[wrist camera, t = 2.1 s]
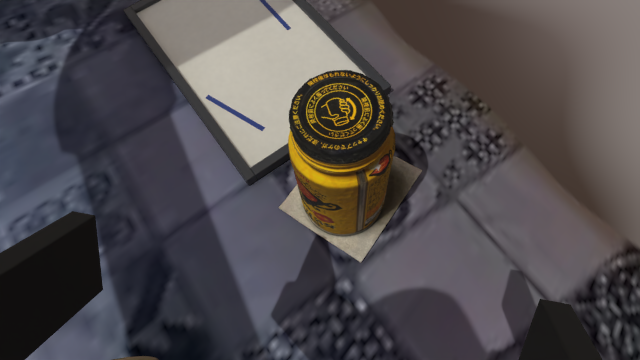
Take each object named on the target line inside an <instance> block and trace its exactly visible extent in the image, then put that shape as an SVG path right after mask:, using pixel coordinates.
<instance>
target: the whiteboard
mask: <svg viewBox="0 0 640 360" xmlns="http://www.w3.org/2000/svg"><path fill="white" fill-rule="evenodd" d="M124 12H125V14H126V15H127V17H128V19H129V20H130V21H131V23H132V24H133V26H134V27H135V28H136V30H137V31H138V32H139V34H140V35H141V37H142V38H143V39H144V41H145V42H146V44H147V45H148V46H149V48H150V49H151V51H152V52H153V53H154V55H155V56H156V57H157V59H158V60H159V62H160V63H161V64H162V66H163V67H164V69H165V70H166V71H167V73H168V74H169V76H170V77H171V78H172V80H173V81H174V83H175V84H176V85H177V87H178V88H179V89H180V91H181V92H182V94H183V95H184V96H185V98H186V99H187V101H188V102H189V103H190V105H191V106H192V108H193V109H194V110H195V112H196V113H197V115H198V116H199V117H200V119H201V120H202V121H203V123H204V124H205V126H206V127H207V128H208V130H209V131H210V133H211V134H212V135H213V137H214V138H215V140H216V141H217V142H218V144H219V145H220V146H221V148H222V149H223V151H224V152H225V153H226V155H227V156H228V158H229V159H230V160H231V162H232V163H233V165H234V166H235V167H236V169H237V170H238V172H239V173H240V174H241V176H242V177H243V178H244V180H245V181H246V183H247V184H248V185H251V184H252V183H254V182H255V181H257V180H258V179H260V178H261V177H263V176H265V175H266V174H268V173H269V172H271V171H272V170H274V169H275V168H277V167H278V166H280V165H281V164H283V163H284V162H286V161H287V160H289V159H290V156H289V147H288V139H289V133H290V123H289V110H290V108H291V103H292V99H293V97H294V95H295V94H296V93H297V91H298V90H299V89H300V88H301V87H302V85H303V84H304V83H306V82H307V81H308V80H309V79H310V78H313V77H315V76H318V75H320V74H322V73H325V72H328V71H334V70H351V71H354V72H358V73H361V74H364V75H365V76H367V77H369V78H371V79H373V80H374V81H375V82H377V83H378V84H379V85H380V86H381V87H382V89H383V90H384V92H385V94H386V95H387V94H388V93H390V88H391V85H390V84H389V83H388V82H387V81H386V80H385V79H384V78H383V77H382V76H381V75H380V74H379V73H378V72H377V71H376V70H375V69H374V68H373V67H372V66H371V65H370V64H369V63H368V62H367V61H366V60H365V59H364V58H363V57H362V56H361V55H360V54H359V53H358V52H357V51H356V50H355V49H354V48H353V47H352V46H351V45H350V44H349V43H348V42H347V41H346V40H345V39H344V38H343V37H342V36H341V35H340V34H339V33H338V32H337V31H336V30H335V29H334V28H333V27H332V26H331V25H330V24H329V23H328V22H327V21H326V20H325V19H324V18H323V17H322V16H321V15H320V14H319V13H318V12H317V11H316V10H315V9H314V8H313V7H312V6H311V5H310V4H309V3H308V2H307V1H306V0H140V1H139V2H137V3H135V4H133V5H131V6H129V7H128V8H126V9H124Z"/></svg>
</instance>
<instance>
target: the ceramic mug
mask: <svg viewBox="0 0 640 360" xmlns="http://www.w3.org/2000/svg"><path fill="white" fill-rule="evenodd" d="M113 360H159V359H157V358H155V357H150V356H137V357H126V358H119V359H113Z"/></svg>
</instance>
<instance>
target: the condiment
mask: <svg viewBox="0 0 640 360" xmlns="http://www.w3.org/2000/svg"><path fill="white" fill-rule="evenodd" d="M392 118H393V112H392V105H391V103H390V102H389V97H388V96H387V95H386V94H385V92H384V90H383V89H382V87H381V86H380V85H379V84H378V83H377V82H375V81H374V80H373V79H371V78H369V77H367V76H365V75H364V74H361V73H358V72H354V71H351V70H334V71H328V72H325V73H322V74H320V75H318V76H315V77H313V78H310V79H309V80H308V81H307V82H306V83H304V84H303V85H302V87H301V88H300V89H299V90H298V91H297V93H296V94H295V95H294V97H293V99H292V103H291V108H290V110H289V123H290V133H289V139H288V147H289V156H290V159H291V163H292V166H293V169H294V173H295V177H296V181H297V185H296V187H295V188H294V189H293V190H292V192H291V193H290V194H289V196H288V197H287V198H286V199H285V201H284V202H283V203H282V204H281V205H280V206H279V208H280V209H281V210H282V211H284V212H286V213H287V214H289V215H290V216H291V217H293V218H294V219H296V220H297V221H299V222H300V223H302V224H303V225H305V226H306V227H308V228H309V229H311V230H312V231H314V232H315V233H317V234H318V235H320V236H321V237H323V238H324V239H326V240H327V241H329V242H330V243H332V244H333V245H335V246H336V247H338V248H339V249H341V250H343V251H344V252H346V253H347V254H349V255H350V256H352V257H353V258H355V259H356V260H358V261H359V262H362V260H363V259H364V257H365V256H366V254H367V253H368V251H369V250H370V248H371V247H372V246H373V244H374V243H375V241H376V240H377V238H378V236H379V235H380V234H381V232H382V231H383V229H384V228H385V226H386V224H387V223H388V222H389V220H390V219H391V217H392V215H393V214H394V212H395V211H396V209H397V208H398V206H399V205H400V203H401V202H402V200H403V199H404V197H405V196H406V194H407V193H408V192H409V190H410V188H411V187H412V185H413V184H414V182H415V181H416V179H417V178H418V176H419V175H420V173H421V172H422V170H420V169H418V168H417V167H415V166H413V165H410V164H408V163H407V162H405V161H403V160H401V159H399V158H398V157H396V156H394V151H395V133H394V130H393V127H392V125H393V123H394V122H393V120H392Z"/></svg>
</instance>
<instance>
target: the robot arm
mask: <svg viewBox="0 0 640 360" xmlns="http://www.w3.org/2000/svg"><path fill="white" fill-rule="evenodd" d="M102 290H103V286H102V277H101V267H100V258H99V248H98V239H97V229H96V220H95V215H90V214H84V213H79V212H74V211H72V212H71V213H69V214H67V215H66V216H64V217H62V218H60V219H59V220H57V221H55V222H53V223H52V224H50V225H48V226H46V227H45V228H43V229H41V230H40V231H38V232H36V233H34V234H33V235H31V236H29V237H27V238H26V239H24V240H22V241H20V242H19V243H17V244H15V245H14V246H12V247H10V248H8V249H7V250H5V251H3V252H1V253H0V360H25V359H26V358H27V357H28V356H29V355H30V354H31V353H33V352H34V351H35V350H36V349H37V348H38V347H39V346H40V345H42V344H43V343H44V342H45V341H46V340H47V339H48V338H49V337H50V336H52V335H53V334H54V333H55V332H56V331H57V330H58V329H59V328H61V327H62V326H63V325H64V324H65V323H66V322H67V321H68V320H69V319H71V318H72V317H73V316H74V315H75V314H76V313H77V312H78V311H80V310H81V309H82V308H83V307H84V306H85V305H86V304H87V303H88V302H90V301H91V300H92V299H93V298H94V297H95V296H96V295H97V294H99V293H100V292H101V291H102ZM519 360H602V358H601V356H600V355H599V353H598V351H597V350H596V348H595V346H594V344H593V343H592V341H591V339H590V338H589V336H588V334H587V332H586V331H585V329H584V327H583V326H582V324H581V322H580V320H579V319H578V317H577V315H576V314H575V312H574V310H573V308H572V307H571V305H569V304H564V303H559V302H553V301H548V300H543V299H540V301H539V303H538V306H537V309H536V312H535V315H534V318H533V320H532V323H531V326H530V329H529V332H528V335H527V337H526V340H525V343H524V346H523V349H522V352H521V354H520V357H519Z"/></svg>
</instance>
